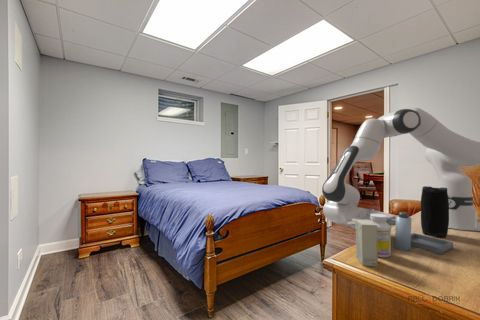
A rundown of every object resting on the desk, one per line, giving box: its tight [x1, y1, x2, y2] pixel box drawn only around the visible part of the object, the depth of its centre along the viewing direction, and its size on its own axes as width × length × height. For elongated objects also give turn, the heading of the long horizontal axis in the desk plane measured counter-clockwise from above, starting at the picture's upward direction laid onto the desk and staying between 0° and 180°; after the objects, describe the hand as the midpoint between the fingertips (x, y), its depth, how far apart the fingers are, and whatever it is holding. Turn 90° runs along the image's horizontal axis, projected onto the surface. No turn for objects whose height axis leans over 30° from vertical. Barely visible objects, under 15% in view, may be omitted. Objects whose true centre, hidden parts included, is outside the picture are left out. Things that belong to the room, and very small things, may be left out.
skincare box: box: [355, 220, 379, 267], centre depth 68 cm, size 6×4×12 cm
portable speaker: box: [420, 186, 449, 239], centre depth 92 cm, size 9×9×20 cm
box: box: [411, 232, 454, 256], centre depth 81 cm, size 11×12×2 cm
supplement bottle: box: [370, 214, 392, 258], centre depth 74 cm, size 7×7×13 cm
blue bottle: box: [394, 211, 412, 252], centre depth 78 cm, size 4×4×12 cm
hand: (397, 227), depth 80 cm, fingers open, 8 cm apart
